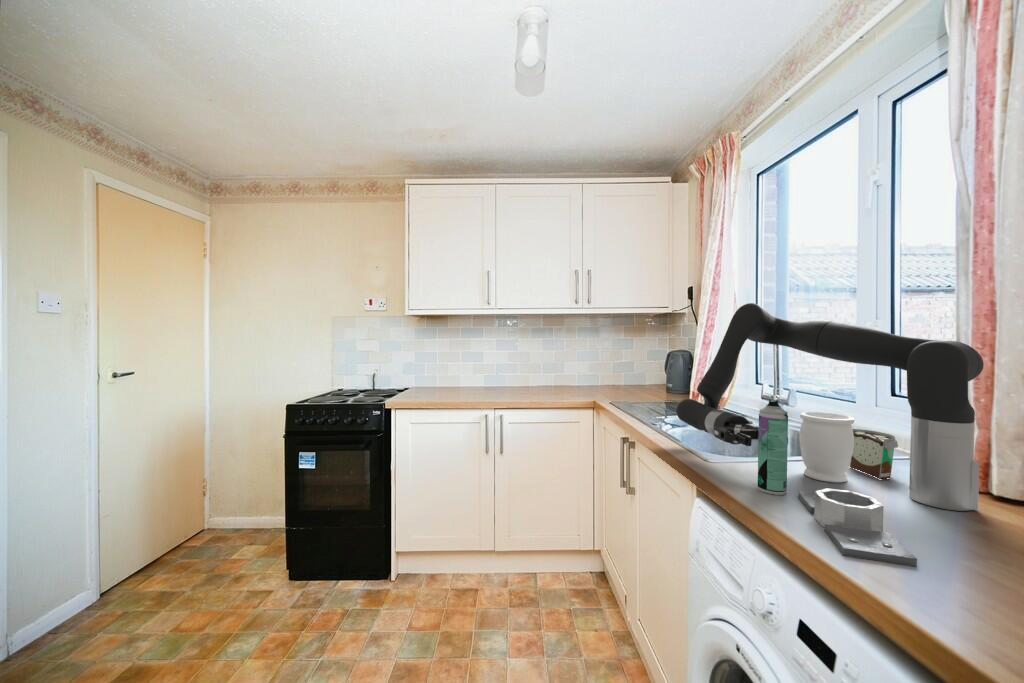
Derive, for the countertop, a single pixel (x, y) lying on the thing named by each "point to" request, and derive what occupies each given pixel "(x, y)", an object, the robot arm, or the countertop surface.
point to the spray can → (772, 449)
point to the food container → (873, 452)
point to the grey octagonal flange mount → (856, 525)
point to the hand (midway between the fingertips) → (768, 441)
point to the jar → (826, 445)
